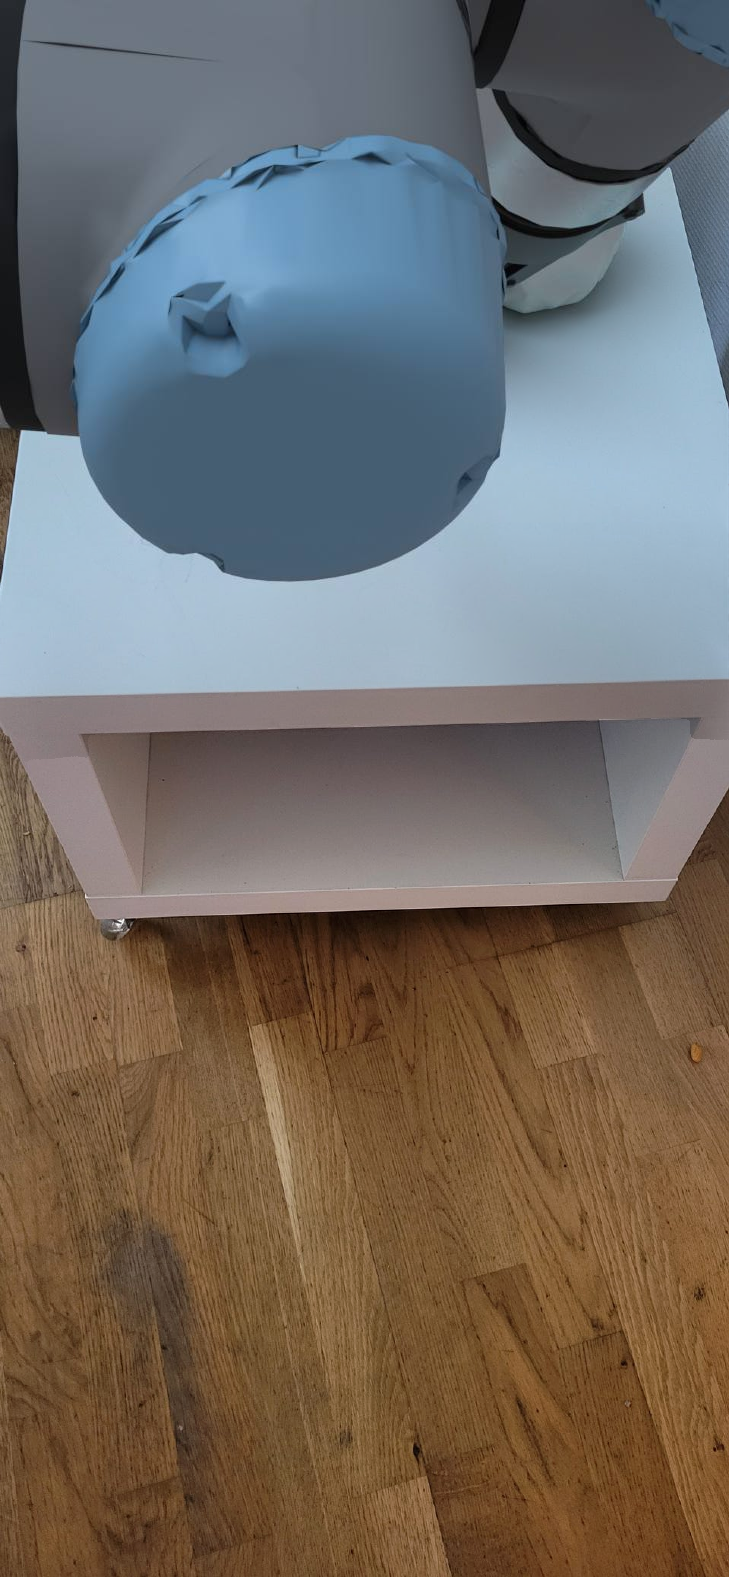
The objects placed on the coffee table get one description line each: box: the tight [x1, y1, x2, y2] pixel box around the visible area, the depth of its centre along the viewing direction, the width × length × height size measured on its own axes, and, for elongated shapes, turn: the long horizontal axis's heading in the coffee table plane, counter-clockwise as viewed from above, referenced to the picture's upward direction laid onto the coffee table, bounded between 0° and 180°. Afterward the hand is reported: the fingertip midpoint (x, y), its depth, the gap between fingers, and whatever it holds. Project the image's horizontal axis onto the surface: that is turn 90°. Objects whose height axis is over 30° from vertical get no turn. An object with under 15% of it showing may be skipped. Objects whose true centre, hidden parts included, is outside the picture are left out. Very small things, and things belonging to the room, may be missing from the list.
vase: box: [502, 221, 628, 314], centre depth 85 cm, size 14×14×15 cm
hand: (408, 310), depth 61 cm, fingers closed
